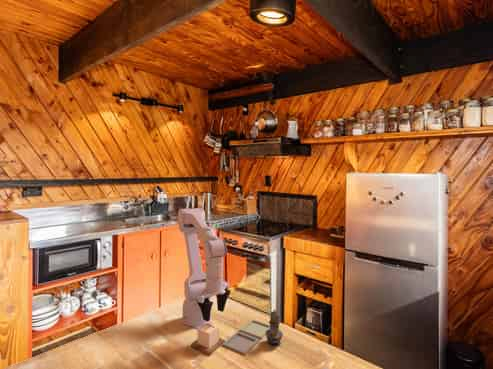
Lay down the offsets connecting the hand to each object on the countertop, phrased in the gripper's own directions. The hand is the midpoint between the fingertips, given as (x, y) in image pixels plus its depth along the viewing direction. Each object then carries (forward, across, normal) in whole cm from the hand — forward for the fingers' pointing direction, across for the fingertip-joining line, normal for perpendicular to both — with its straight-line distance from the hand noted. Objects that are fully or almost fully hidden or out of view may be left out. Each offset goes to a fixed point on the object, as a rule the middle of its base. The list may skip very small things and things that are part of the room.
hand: (213, 315), depth 99 cm
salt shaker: (+10, +11, -17) cm, 23 cm away
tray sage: (+10, +15, -8) cm, 20 cm away
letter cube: (+8, -2, +1) cm, 9 cm away
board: (+10, -2, +1) cm, 10 cm away
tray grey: (+10, +5, -8) cm, 13 cm away
